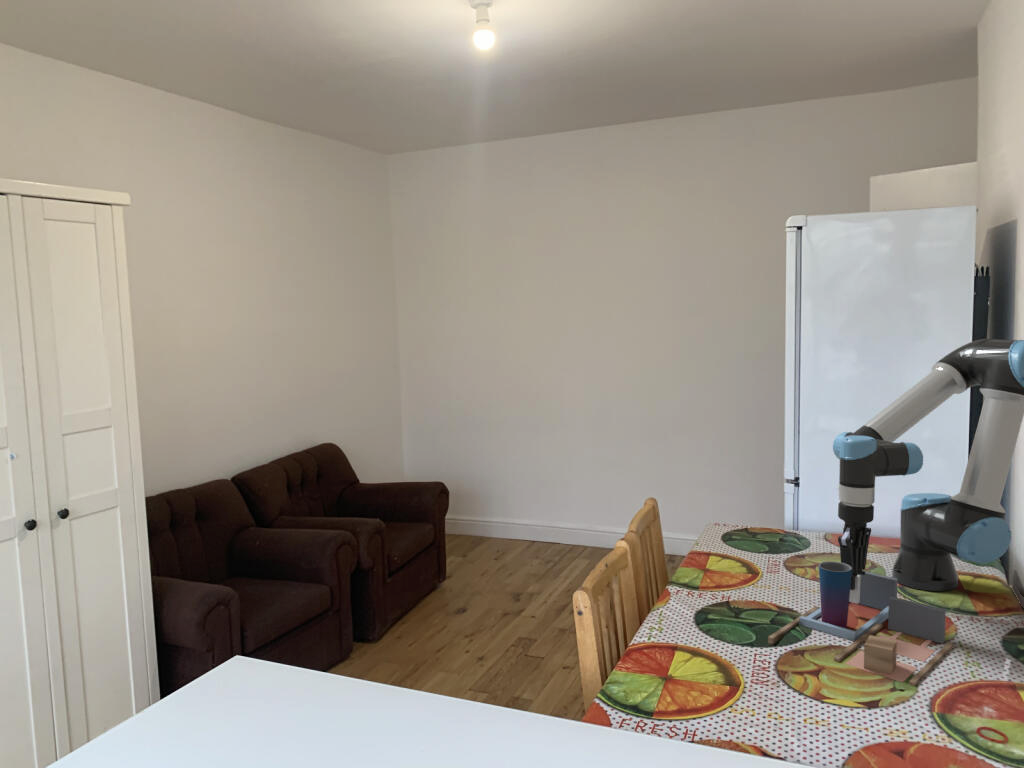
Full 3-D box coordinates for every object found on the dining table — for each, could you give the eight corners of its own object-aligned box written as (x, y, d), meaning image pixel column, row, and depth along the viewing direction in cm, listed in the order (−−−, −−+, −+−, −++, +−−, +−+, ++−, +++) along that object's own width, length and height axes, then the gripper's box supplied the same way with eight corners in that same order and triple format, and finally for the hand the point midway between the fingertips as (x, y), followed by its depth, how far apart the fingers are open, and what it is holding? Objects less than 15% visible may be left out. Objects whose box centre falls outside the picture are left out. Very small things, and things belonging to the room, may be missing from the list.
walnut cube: (869, 658, 156) (869, 635, 155) (896, 664, 153) (896, 640, 152) (863, 668, 152) (864, 644, 151) (891, 674, 149) (892, 650, 148)
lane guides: (815, 612, 181) (815, 606, 181) (953, 650, 160) (953, 643, 160) (768, 643, 166) (768, 636, 166) (914, 690, 144) (914, 682, 144)
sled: (844, 597, 189) (844, 566, 188) (896, 611, 180) (897, 578, 180) (799, 628, 173) (799, 594, 172) (854, 644, 164) (855, 608, 163)
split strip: (890, 631, 170) (891, 596, 170) (944, 645, 162) (945, 609, 162) (844, 668, 154) (845, 630, 153) (902, 687, 146) (903, 647, 145)
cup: (854, 638, 167) (855, 572, 166) (821, 636, 168) (822, 571, 167) (846, 625, 174) (847, 561, 172) (815, 624, 175) (815, 560, 174)
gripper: (851, 495, 184) (848, 590, 186) (827, 505, 175) (824, 604, 177) (884, 500, 178) (880, 598, 180) (860, 511, 169) (856, 613, 172)
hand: (852, 601), depth 179 cm, fingers closed
